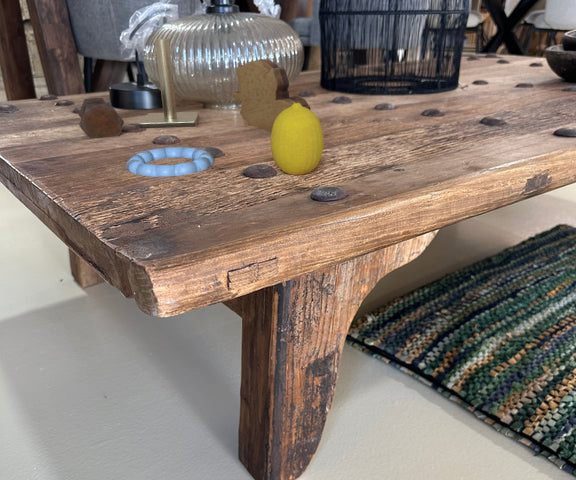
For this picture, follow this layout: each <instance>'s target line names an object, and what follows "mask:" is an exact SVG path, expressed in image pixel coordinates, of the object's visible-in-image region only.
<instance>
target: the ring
mask: <svg viewBox="0 0 576 480" xmlns="http://www.w3.org/2000/svg"><path fill="white" fill-rule="evenodd" d="M166 158H167V159H169V158H185V159H192V161H187V162H182V163H177V164H151V163H150V162H152V161H155V160H162V159H166ZM214 161H215V158H214V156H213V154H212V153H210V152H208V151H206V150H203V149H202V148H198V147H197V148H196V147H188V146H173V147H170V146H169V147H168V146H167V147H160V148H154V149H148V150H147V149H146V150H145V151H141V152H138V153H136V154H133V155H131V156H130V158H129V160H128V161H127V162H126V164H125V169H126V170H127V171H129V172H130V173H132V174H134V175H137V176H138V175H139V176H144V177H150V178H151V177H153V178H159V177H161V178H162V177H179V176H184V175H190V174H196V173H200V172H202V171H205V170H207V169H209V168H211V167H213V166H214ZM149 163H150V164H149Z"/></svg>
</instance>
